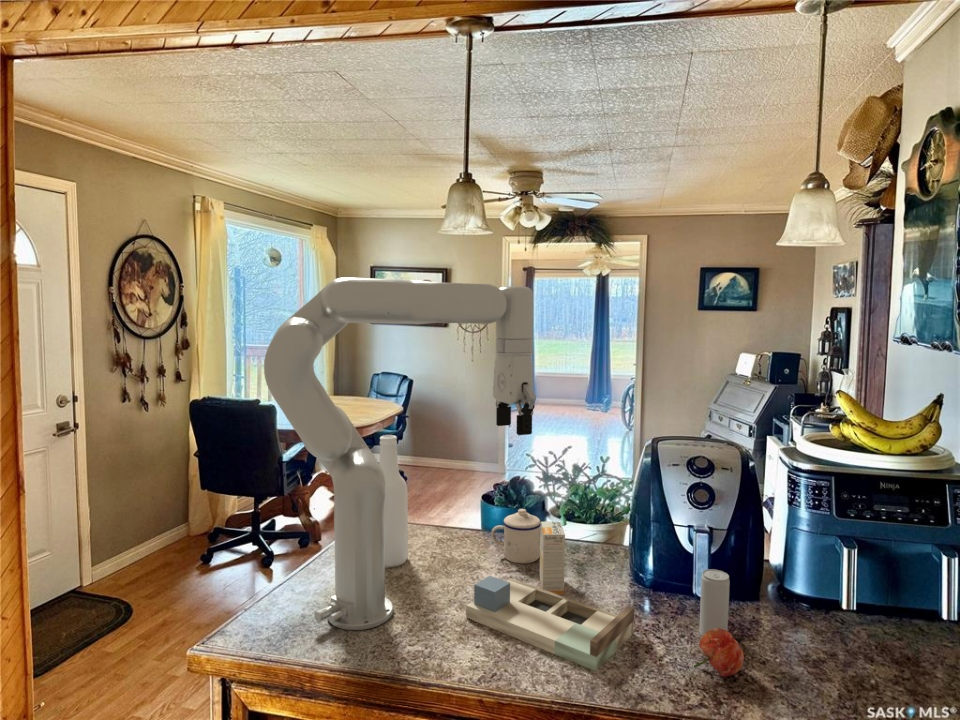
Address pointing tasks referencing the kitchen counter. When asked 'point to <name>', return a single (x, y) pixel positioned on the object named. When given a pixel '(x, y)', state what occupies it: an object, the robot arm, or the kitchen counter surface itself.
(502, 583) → the slate block
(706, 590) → the beverage can
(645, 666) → the kitchen counter surface
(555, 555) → the supplement box
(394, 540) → the alcohol
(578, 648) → the board
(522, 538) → the teacup with lid
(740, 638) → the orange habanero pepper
